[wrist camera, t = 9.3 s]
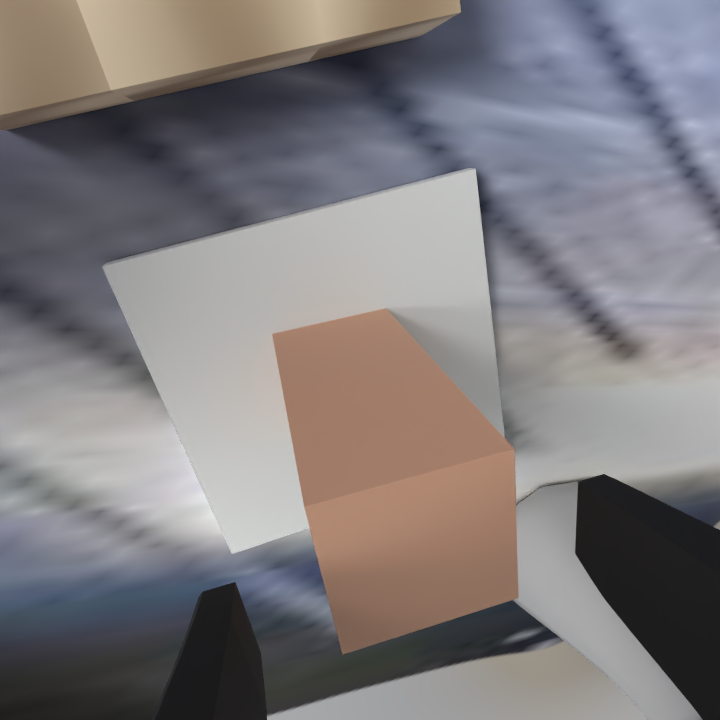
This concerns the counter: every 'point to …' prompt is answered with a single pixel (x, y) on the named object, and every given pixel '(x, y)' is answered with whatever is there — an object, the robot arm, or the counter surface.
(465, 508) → the peg
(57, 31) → the pocket block
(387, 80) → the counter surface
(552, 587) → the flask
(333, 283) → the mat
